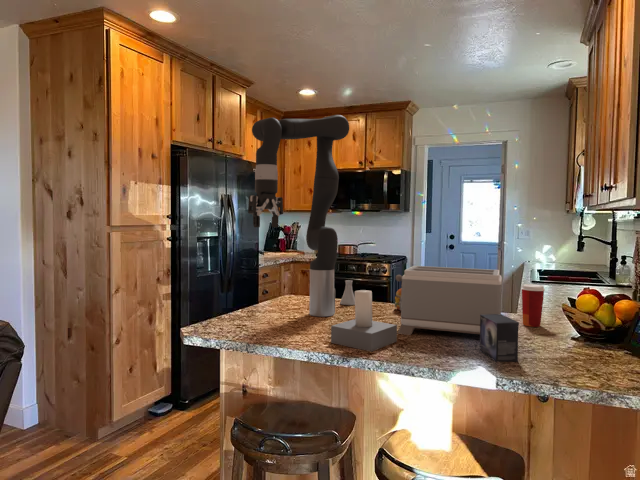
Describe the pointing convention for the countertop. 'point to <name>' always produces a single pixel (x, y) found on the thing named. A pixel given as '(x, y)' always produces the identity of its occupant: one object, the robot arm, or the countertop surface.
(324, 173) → the robot arm
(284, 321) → the countertop surface
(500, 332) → the small box
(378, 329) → the plinth
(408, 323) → the toaster
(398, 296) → the burger
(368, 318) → the beige piece
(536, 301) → the paper cup
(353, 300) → the flask
